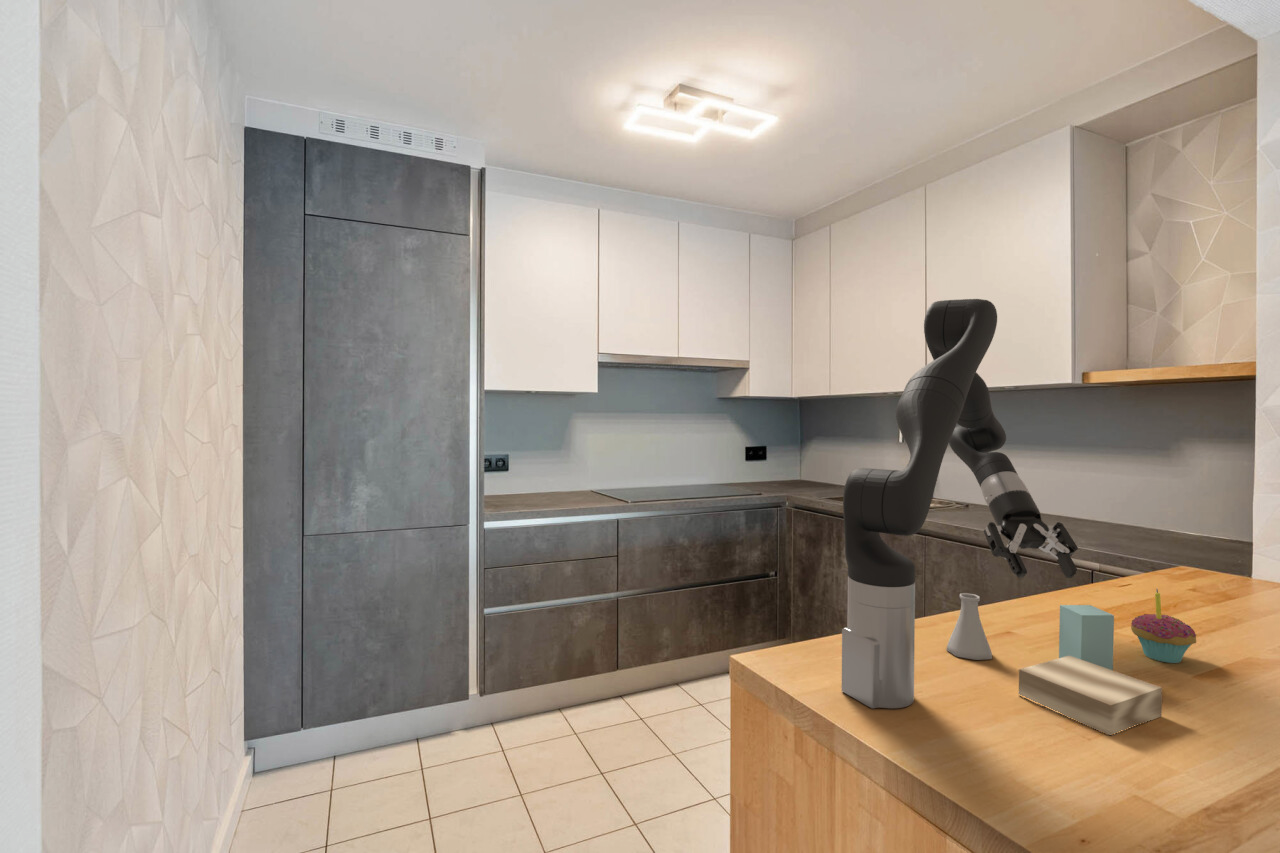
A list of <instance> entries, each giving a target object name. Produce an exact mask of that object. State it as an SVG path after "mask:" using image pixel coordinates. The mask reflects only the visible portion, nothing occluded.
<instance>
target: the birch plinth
mask: <svg viewBox="0 0 1280 853" xmlns="http://www.w3.org/2000/svg"><path fill="white" fill-rule="evenodd" d="M1019 694H1020V695H1022V696H1025V697H1026V698H1029V699H1031V700H1033V701H1035V702H1038V703H1040V704H1042V705H1044V706H1047V707H1049V708H1051V709H1053V710H1055V711H1058V712H1060V713H1062V714H1064V715H1066V716H1068V717H1070V718H1073V719H1075V720H1077V721H1079V722H1081V723H1083V724H1082V725H1084V724H1085V725H1084V726H1086V725H1088V726H1090V727H1089V728H1091V727H1092V728H1091V729H1093V728H1094V729H1093V730H1095V729H1096V731H1097V730H1099V731H1098V732H1100V731H1102V732H1104V733H1106V734H1105V735H1107V734H1109V735H1112V734H1114V733H1117V732H1119V731H1121V730H1125V729H1127V728H1129V727H1132V726H1134V725H1137V724H1140V723H1143V722H1145V723H1147V721H1148V722H1151V721H1153V720H1155V719H1158V718H1160V717H1162V709H1163V708H1162V707H1163V703H1162V702H1163V687H1162V686H1159V685H1156V684H1153V683H1150V682H1147V681H1145V680H1141V679H1139V678H1135V677H1132V676H1129V675H1127V674H1124V673H1121V672H1119V671H1116V670H1114V669H1113V670H1110V669H1107V668H1104V667H1101V666H1098V665H1095V664H1092V663H1090V662H1087V661H1084V660H1081V659H1078V658H1075V657H1072V656H1066V657H1062V658H1059V657H1058V658H1055V659H1052V660H1049V661H1044V662H1041V663H1037V664H1033V665H1030V666H1026V667H1023V668H1019V669H1018V695H1019ZM1070 718H1069V719H1070ZM1150 720H1151V721H1150ZM1077 721H1076V722H1077ZM1079 722H1078V723H1079ZM1081 723H1080V724H1081ZM1143 724H1144V723H1143ZM1140 725H1141V724H1140ZM1088 726H1087V727H1088ZM1132 728H1133V727H1132ZM1127 730H1128V729H1127ZM1125 731H1126V730H1125ZM1102 732H1101V733H1102ZM1104 733H1103V734H1104ZM1119 733H1120V732H1119ZM1117 734H1118V733H1117ZM1109 735H1108V736H1109ZM1114 735H1115V734H1114ZM1112 736H1113V735H1112Z"/></svg>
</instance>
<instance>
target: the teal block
mask: <svg viewBox="0 0 1280 853" xmlns="http://www.w3.org/2000/svg"><path fill="white" fill-rule="evenodd" d="M1114 626H1115V615H1114V614H1113V613H1110V612H1107V611H1105V610H1103V609H1101V608H1098V607H1096V606H1093V605H1091V604H1059V632H1058V634H1059V635H1058V638H1059V640H1058V646H1059V647H1058V658H1062V657H1066V656H1072V657H1075V658H1078V659H1081V660H1084V661H1087V662H1090V663H1092V664H1095V665H1098V666H1101V667H1104V668H1107V669H1110V670H1113V671H1114V643H1115V642H1114V640H1115V639H1114V635H1115V634H1114V631H1115V630H1114V629H1115V628H1114Z"/></svg>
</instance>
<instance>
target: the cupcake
mask: <svg viewBox="0 0 1280 853" xmlns="http://www.w3.org/2000/svg"><path fill="white" fill-rule="evenodd" d="M1155 590H1156V592H1155V593H1154V594H1155V595H1154V597H1155V613H1153V614H1152V613H1149V614H1148V613H1147V614H1146V613H1144V614H1142V615H1139V616H1135V617H1134V618H1133V619H1132V620H1131V625H1130V628H1131V633H1133V634H1134V635H1135V636H1136V637H1137V639H1138V640H1139V641H1138V642H1140V645H1141V648H1142V651H1143V654H1144V655H1145V656H1146V657H1147V658H1149V659H1151V660H1155V661H1157V662H1163V663H1169V664H1179V663H1181V662H1182V660H1183V658H1184V655H1185V653H1186V652H1187V650H1188V649H1190V647H1191V646H1192V645H1194V644H1196V643H1197V634H1196V632H1195V630H1194V629H1193V628H1192V626H1190V625H1189V624H1187V623H1185V622H1183V621H1182V620H1180V619H1179V618H1176V617H1174V616H1172V615H1171V616H1170V615H1168V614H1162V602H1161V593H1160V592H1159V589H1158V588H1156V589H1155Z"/></svg>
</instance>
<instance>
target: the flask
mask: <svg viewBox="0 0 1280 853" xmlns="http://www.w3.org/2000/svg"><path fill="white" fill-rule="evenodd" d="M959 599H960V602H961V603H960V611H959V616H958V619H957V621H956V623H955V626H954V629H953V630H952V632H951V634H950V637H949V640H948V641H947V644H946V651H947V652H949V653H950V654H952V655H954V656H955V657H957V658H962V659H969V660H973V661H981V660H982V661H983V660H992V659H993V652H992V649H991V647H990V644H989V642H988V639H987V636H986V634H985V631H984V627H983V624H982V621H981V617H980V612H979V602H980V601H981V597H980V595H977V594H974V593H967V592H965V593H959Z"/></svg>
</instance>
